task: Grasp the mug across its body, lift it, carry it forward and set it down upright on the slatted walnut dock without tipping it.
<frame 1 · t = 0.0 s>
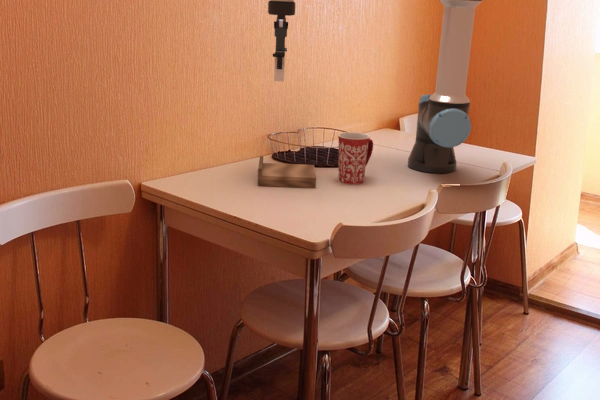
hand: (279, 77, 199), 28 cm above the table, fingers open, 13 cm apart
dock: (286, 180, 200), on the table
mug: (355, 180, 204), on the table
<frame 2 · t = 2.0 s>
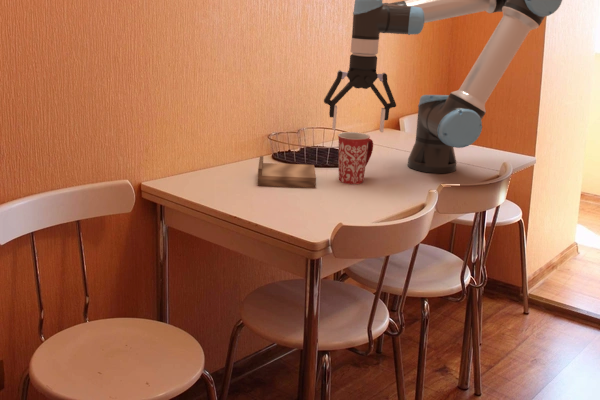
hand: (357, 130, 199), 15 cm above the table, fingers open, 13 cm apart
nothing on the table moved.
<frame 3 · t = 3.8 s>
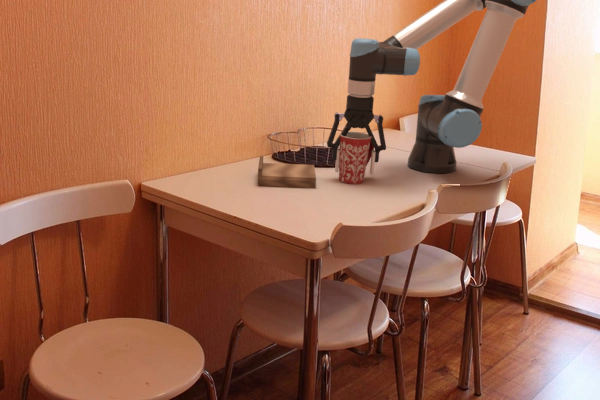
hand: (354, 172, 203), 2 cm above the table, fingers closed on mug, 9 cm apart
mug: (355, 180, 204), on the table, touching gripper
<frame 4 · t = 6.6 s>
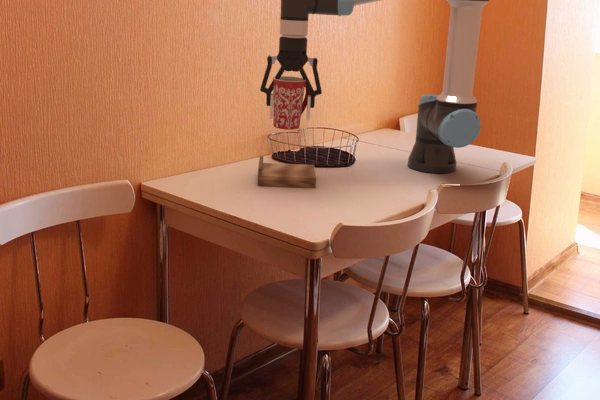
hand: (289, 118, 195), 18 cm above the table, fingers closed on mug, 9 cm apart
mug: (291, 127, 196), point 15 cm above the table, touching gripper
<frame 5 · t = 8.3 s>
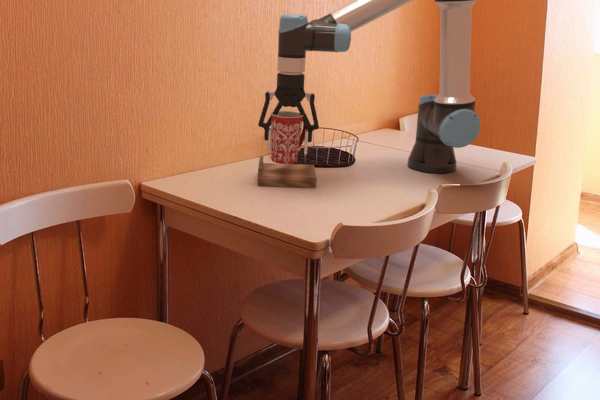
hand: (287, 152, 198), 8 cm above the table, fingers closed on mug, 9 cm apart
mug: (288, 160, 199), point 6 cm above the table, touching gripper
when the fingers open (7 cm above the table, at t = 9.6 s): mug drops 1 cm, resting on dock.
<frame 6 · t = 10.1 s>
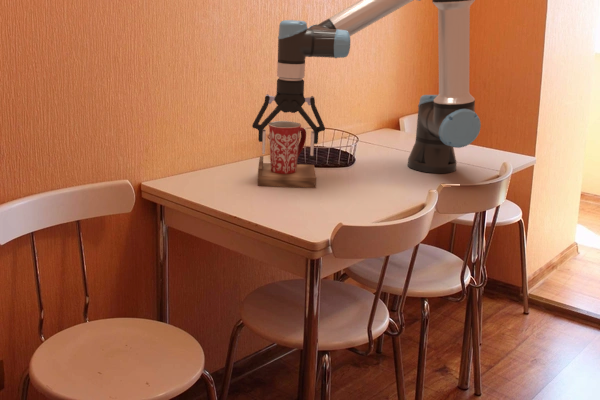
hand: (287, 154, 198), 8 cm above the table, fingers open, 13 cm apart
mug: (287, 170, 200), point 3 cm above the table, touching dock
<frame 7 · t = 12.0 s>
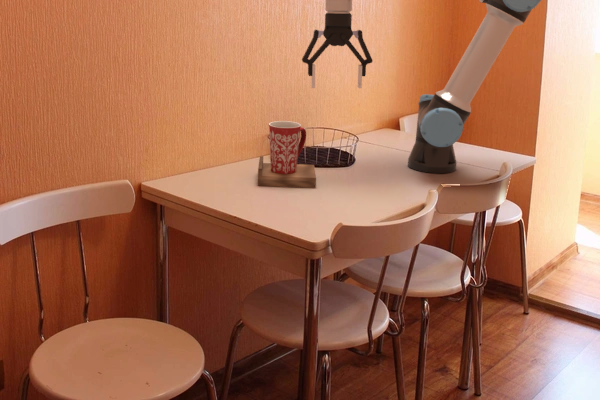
hand: (336, 87, 204), 25 cm above the table, fingers open, 13 cm apart
nothing on the table moved.
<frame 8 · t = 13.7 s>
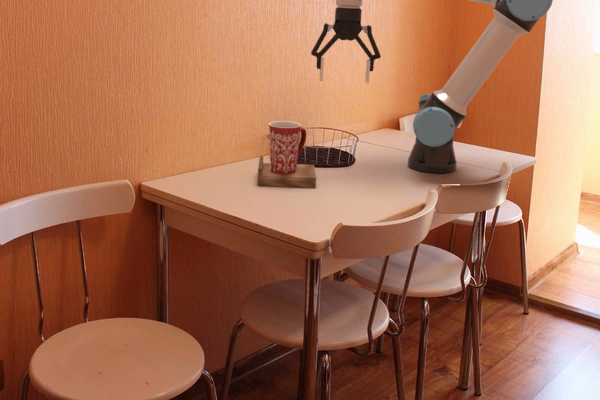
hand: (344, 81, 207), 27 cm above the table, fingers open, 13 cm apart
nothing on the table moved.
at the end: mug inside the target area on the dock (0.4 cm from its centre), point 2.8 cm above the dock's base; mug tilted 0°; the gripper is holding nothing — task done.
